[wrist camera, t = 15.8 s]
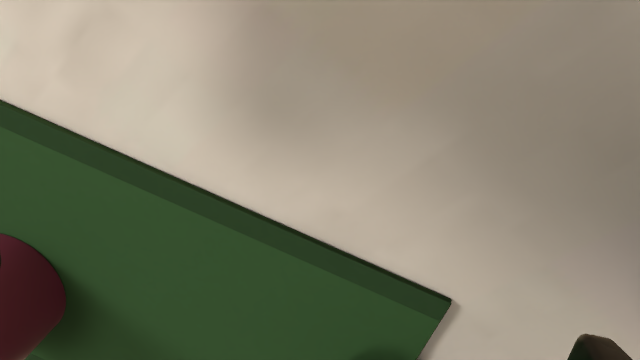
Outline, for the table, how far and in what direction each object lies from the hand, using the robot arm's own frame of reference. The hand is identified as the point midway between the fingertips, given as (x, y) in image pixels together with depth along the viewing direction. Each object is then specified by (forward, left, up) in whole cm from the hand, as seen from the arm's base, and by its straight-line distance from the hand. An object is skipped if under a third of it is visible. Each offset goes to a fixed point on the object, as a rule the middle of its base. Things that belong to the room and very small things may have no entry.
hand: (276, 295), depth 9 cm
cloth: (+5, +14, -13) cm, 20 cm away
